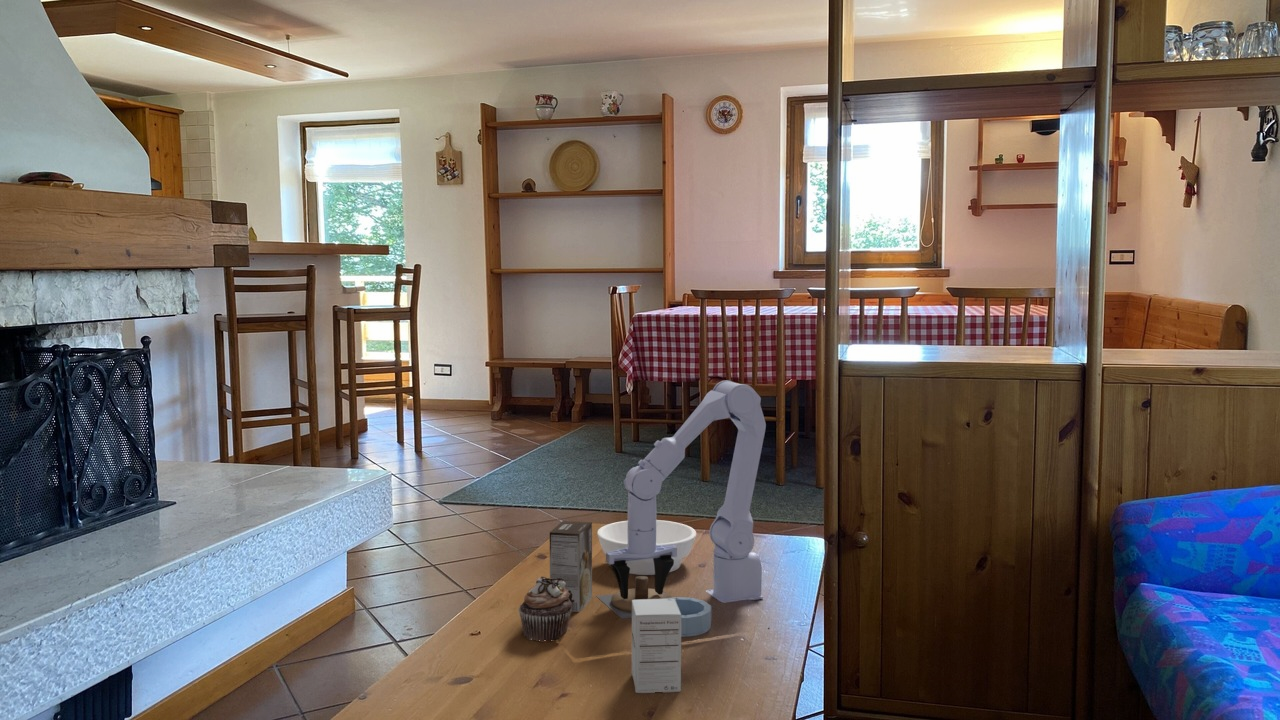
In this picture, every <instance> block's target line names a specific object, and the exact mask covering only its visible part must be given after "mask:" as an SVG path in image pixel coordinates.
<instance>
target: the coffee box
mask: <svg viewBox="0 0 1280 720" xmlns="http://www.w3.org/2000/svg"><path fill="white" fill-rule="evenodd" d="M549 578H562V579H563V580H564V582H565V583H566V585H565V589H566V590H567V591H568V592H569V597H568V598H569V599H570V601H571V602H572V610H571V613H572V612H576V613H580V612H582V611H583V609H584V608H585V607H586V605H588V603H590V601H591V600H592V598H593V522H592V521H572V520H571V521H567V520H565V521H563V520H562V521H561V522H560V523H559V524H558V525H556V526H555V527H554V528H552V529H551V530H550V531H549Z"/></svg>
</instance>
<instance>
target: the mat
mask: <svg viewBox="0 0 1280 720" xmlns="http://www.w3.org/2000/svg"><path fill="white" fill-rule="evenodd" d="M613 594H614V593H612V594H611V593H609V594H603V595H596V596H595V597H596V598H597V599H598V600H600V602H602V603H603V604H604V605H605V606H606V607H607V608H609V609H610V610H611V611H612V612H613V613H614V614H615V615H616V616H618V618H620V619H621V620H627V619H632V612H626V611H622V610H619V609H617V608H615V607H613V606H612V603H611V597H612V595H613Z"/></svg>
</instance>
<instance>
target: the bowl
mask: <svg viewBox="0 0 1280 720" xmlns="http://www.w3.org/2000/svg"><path fill="white" fill-rule="evenodd" d="M596 531H597V533H596V534H597V538H598V540H599V544H600V546H601V549H602V552H603V553H604V554H605V555H606V552H611V551H616V550H620V549H624V548H627V545H628V520H622V521H617V522H612V523H608V524H605V525H603V526H602V527H600V528H598V530H596ZM696 536H697V531H696V530H695V529H694V528H693V527H692V526H689V525H687V524H685V523H684V524H683V523H681V522H675V521H670V520H663V519H662V520H661V519H656V545H674V546H676V547H677V557H671V558H672V559H673V560H674V565H673V566H672V568H671V570H670V571H669V573H672V572H674V571H675V572H676V570H678V569H679V568H680V567H681V565H682V562H683V558H685V557H687V556H688V555H690V553H691V551H692V548H693V545H694V542H695V539H696ZM626 563H627V566H628V567H629V568H630V571H629V575H637V576H638V575H639V576H655V568H654V560H653V558H651V559H642V560H634V561H626Z"/></svg>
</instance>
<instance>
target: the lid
mask: <svg viewBox="0 0 1280 720" xmlns="http://www.w3.org/2000/svg"><path fill="white" fill-rule="evenodd" d="M634 580H635V581H634V582H635V583H634V587H635V588H628V599H623V598H622V597H621V595H620V590H619V591H616V592H614V593H612V594H613V595H612V597H611V603H612V606H613V607H615V608H617V609H619V610H622V611H626V612H632V600H638V599H665V598H672V597H673V596H672V595H671V594H670V593H668V592H666V591H664V590H663V593H662V594H660V595H659V594H658V593H657V592H655V588H649V577H648V576H647V575H639V576H638V575H637V576H635V578H634Z"/></svg>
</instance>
